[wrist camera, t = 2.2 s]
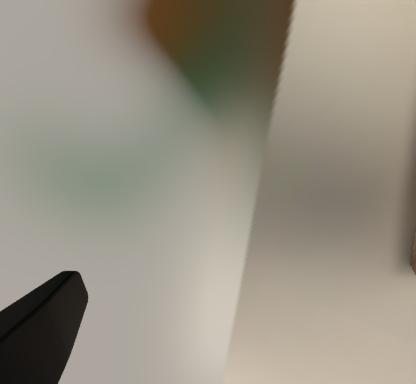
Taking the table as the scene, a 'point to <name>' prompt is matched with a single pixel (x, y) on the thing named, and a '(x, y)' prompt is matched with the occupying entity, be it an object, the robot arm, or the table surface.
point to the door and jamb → (414, 257)
